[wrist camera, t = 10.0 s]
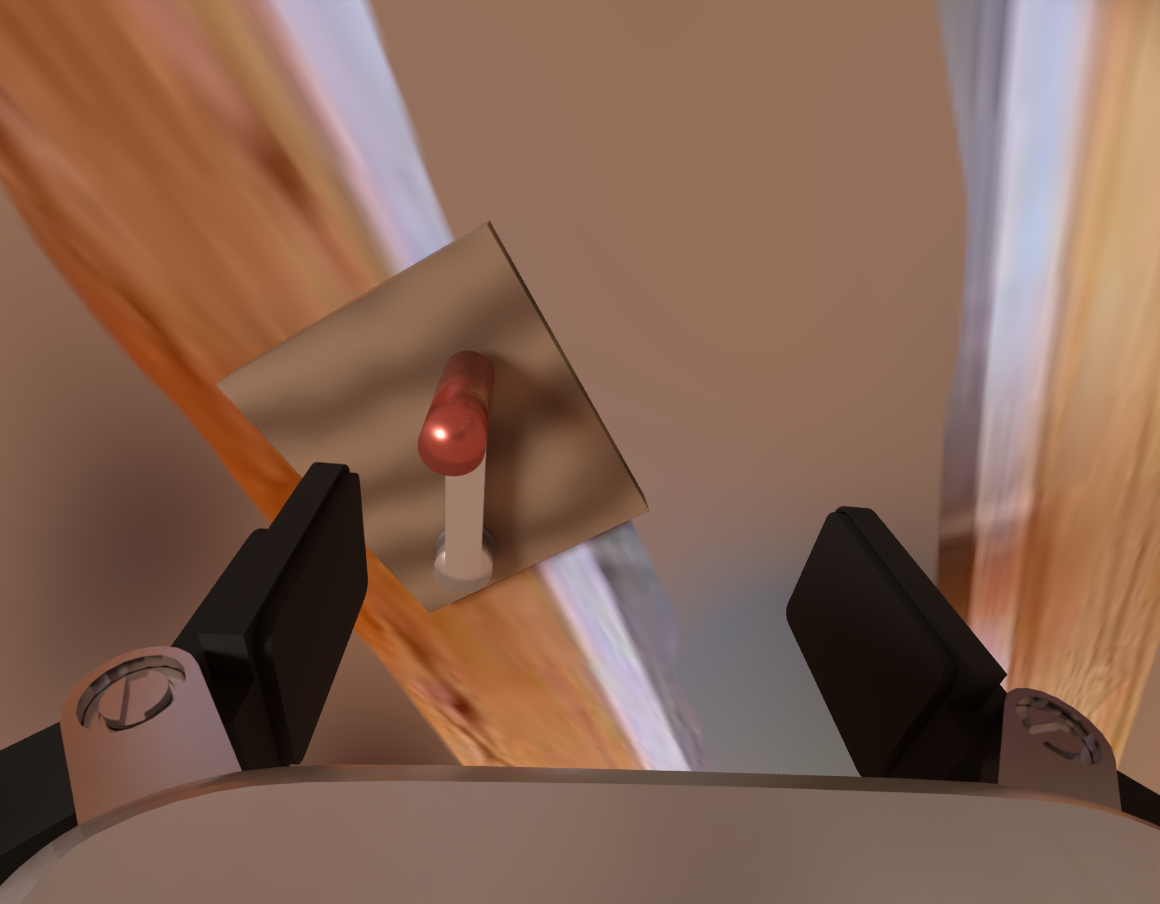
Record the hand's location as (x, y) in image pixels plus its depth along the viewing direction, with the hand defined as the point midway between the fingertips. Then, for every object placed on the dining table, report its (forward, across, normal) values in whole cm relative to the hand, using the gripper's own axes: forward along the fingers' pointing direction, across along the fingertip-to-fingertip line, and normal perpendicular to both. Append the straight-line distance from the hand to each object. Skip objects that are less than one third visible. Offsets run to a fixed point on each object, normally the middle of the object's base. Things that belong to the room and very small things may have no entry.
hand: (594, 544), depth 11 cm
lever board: (+26, +6, +13) cm, 29 cm away
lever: (+23, +5, +14) cm, 27 cm away
